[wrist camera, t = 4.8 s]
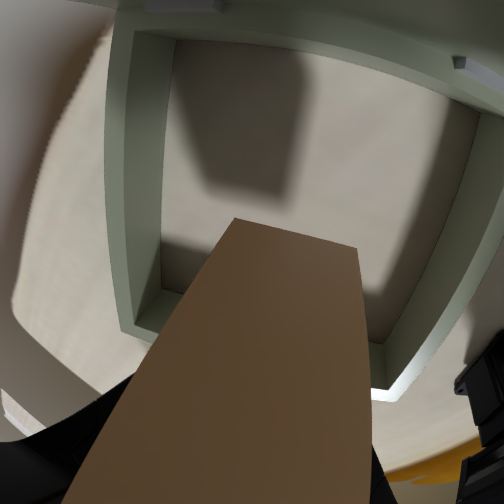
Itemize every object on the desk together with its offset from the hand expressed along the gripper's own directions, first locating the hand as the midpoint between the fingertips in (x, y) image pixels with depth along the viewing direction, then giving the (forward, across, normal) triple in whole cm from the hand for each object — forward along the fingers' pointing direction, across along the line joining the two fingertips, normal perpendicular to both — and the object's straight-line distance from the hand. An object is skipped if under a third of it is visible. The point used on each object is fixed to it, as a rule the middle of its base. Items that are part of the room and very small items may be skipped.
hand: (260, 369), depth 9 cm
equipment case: (+8, 0, -2) cm, 8 cm away
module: (+3, 0, 0) cm, 3 cm away
